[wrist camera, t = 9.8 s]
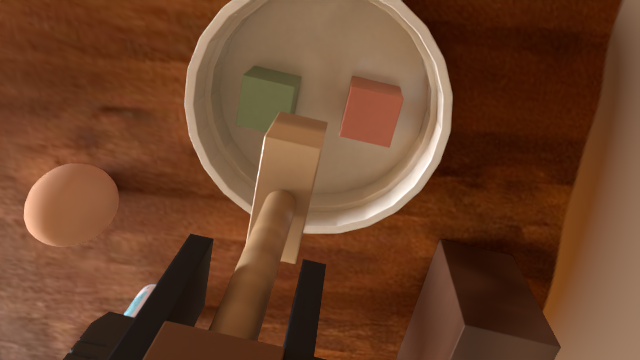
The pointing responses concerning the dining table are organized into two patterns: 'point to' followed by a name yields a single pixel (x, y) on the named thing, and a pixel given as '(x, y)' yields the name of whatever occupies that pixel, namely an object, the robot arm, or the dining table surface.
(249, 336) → the wooden mallet
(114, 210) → the egg
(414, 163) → the bowl
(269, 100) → the sage block
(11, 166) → the dining table surface
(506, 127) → the dining table surface
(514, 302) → the stand
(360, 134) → the terracotta block
